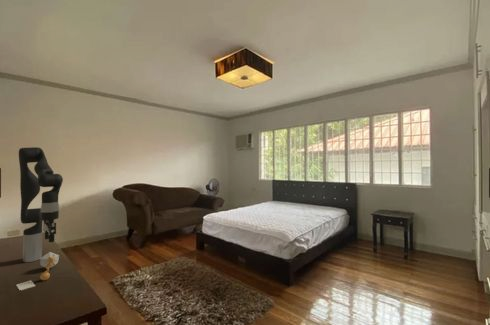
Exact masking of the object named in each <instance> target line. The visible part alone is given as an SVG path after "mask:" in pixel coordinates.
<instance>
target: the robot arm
mask: <svg viewBox="0 0 490 325" xmlns="http://www.w3.org/2000/svg"><path fill="white" fill-rule="evenodd" d="M18 160H19V161H18V162H19V171H20V179H19V180H20V182H19V183H20V184H19V186H20V202H21V204H20V223H22V224H25V225H27V224H33V225H32V226H30V227H28V228H25V229H24V230H23V232H22V233H23V235H22V236H23V238H22V241H23V242H22V244H23V245H22V262H24V263H31V262H35V261H38V260H40V259H41V258H42V257H43V254H42V253H43V232H44V240H48V242H49V243H54V242H55V235H57V223H56V222H55V220H58V219H59V213H60V212H59V210H60V209H59V208H60V204H59V196H60V195H59V194H60V191H61V187H62V184H63V182H64V181H63V179H64V178H63V176H62V175H61V174H60V173H54V170H53V169H52V168H51V166H50V165H49V163H48V159H47V158H46V154H45V152H44V150H43V149H42V148H41V147H33V146H32V147H31V146H30V147H21V148H19V149H18ZM29 163H30V164H31V163H36V164H35V165H34V167H33V169H34V173H35V174H36V175H37V176H36V175H35V174H34V173H33V172H32V170H31V169H30V168H29V166H28V164H29ZM41 188H52V189H50V190H46V191H43V192H42V193H41V206H40V207H39V208H38V207H37V208H29V207H30V204H31V203H32V201H33V200H34V199H35V198H36V197H37V196H38V195H39V194H40V192H41ZM34 223H35V224H34Z"/></svg>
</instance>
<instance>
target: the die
mask: <svg viewBox="0 0 490 325" xmlns="http://www.w3.org/2000/svg"><path fill="white" fill-rule="evenodd" d="M49 256H50V257H55V259H54V262H53V264H52V263H51V264H52V267H51V266H50V267H51V268H53V267H54V266H56V265H57V264H58V262H59V258H60V255H59V254H56V253H54V252H51V251H49V252H46V254H44V255H42V258H41V259H39V260H40V261H39V262H40V263H39V266H41V267H43V268H45V266H46V265H47V264H48V263H49V261H48V260H49V259H48V258H49ZM47 261H48V262H47ZM46 262H47V263H46ZM50 267H49V270H50V269H51V268H50Z"/></svg>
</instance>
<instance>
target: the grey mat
mask: <svg viewBox="0 0 490 325" xmlns="http://www.w3.org/2000/svg"><path fill="white" fill-rule="evenodd" d="M15 286H16V288H17V289H18V290H19V291H20V290H21V291H24V290H28V289H30V288H34V287H36V285H35V284H34V282H33V281H32V280H28V281H24V282H20V283H18V284H16V285H15Z"/></svg>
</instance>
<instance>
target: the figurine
mask: <svg viewBox="0 0 490 325" xmlns="http://www.w3.org/2000/svg"><path fill="white" fill-rule="evenodd" d="M48 259H49V260H48V261H49V263H48V264H47V265H46V266H45V267H44V268H45V269H46V270H45V271H44V272H43V273H41V274H40V276H39V278H40V280H41V281H46V280H48V279H50V276H51V274H50V272H49V271H50V269H51V268H53V267H52V264H53V262H54V259H55V257H50V256H49V258H48ZM48 261H47V262H48ZM47 262H46V263H47ZM51 263H52V264H51ZM50 266H51V267H50ZM49 267H50V269H49Z"/></svg>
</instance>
